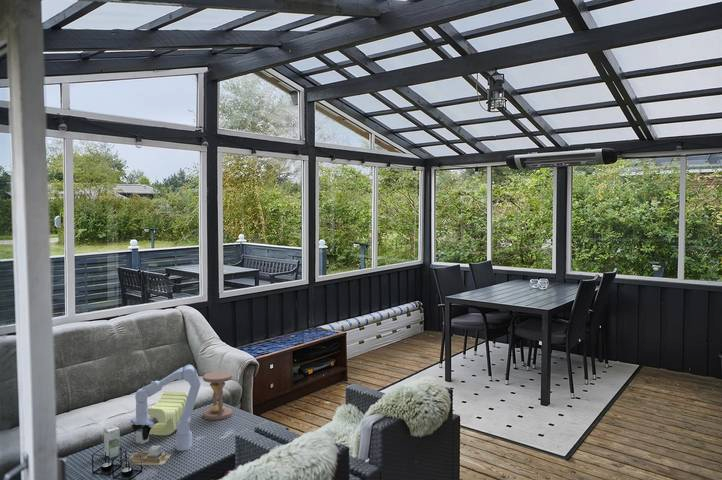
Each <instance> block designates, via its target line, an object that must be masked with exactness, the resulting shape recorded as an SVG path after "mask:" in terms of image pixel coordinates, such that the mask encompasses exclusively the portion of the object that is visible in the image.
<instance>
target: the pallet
mask: <svg viewBox="0 0 722 480" xmlns="http://www.w3.org/2000/svg"><path fill="white" fill-rule="evenodd" d="M172 455H173V453H167V452H166V451H161V456H160V457H159V458H149V451H135V453H133V454H132V455H131V456H130V457H128V459H130V465H129V466H131V465H132V466H133V465H134V466H137V465H140V466H163V465H164V464H165V463H166V462H167V461H168V459H170V457H171V456H172ZM140 456H141V458H140ZM141 462H142V463H141ZM125 464H126V460H125V461H124V462H123V463H122V465H125Z"/></svg>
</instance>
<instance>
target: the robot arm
mask: <svg viewBox="0 0 722 480" xmlns="http://www.w3.org/2000/svg"><path fill="white" fill-rule="evenodd" d="M176 380H179V381H182V380H185V381H186V383H188V384H189V386H190V388H189V389H188V393H187V394H188V397H187V400H186V403H185V407H184V410H183V413H182V415H181V418H180V419H179V420H178V422H177V429H176V432H175V441H176V442H175V443H176V445H175V447H176V448H175V449H176V451H179V452H184V451H188V450H190V449H191V447H192V445H193V433H192V431H191V430H190V424H191V417H192V414H193V410H194V407H195V405H196V400H197V397H198V394H199V390H200V388H201V380H200V377H199V375H198V371H197V368H195V366H194V365H192V364H186V365H185V366H183V367H180V368H178V369H177V370H175V371H173V372H172V373H170V374H169V375H167V376H166V377H164V378H162V379H161V380H152V381H150V383H149V384H147V385H145V386H142V387H141V388H138V389H137V390H136V393H135V396H134V397H135V417H133V418H130V424H132V425H131V428H132V430H133V431H134V434H135V435H136V430H139V429H142V431H143V438H144V440H147V439H148V436H149V435H150V434H149V432H150V430H151V428H152V427H153V426H154V425H155V423H154V422H153V421H151V420H149V414H148V409H149V408H148V407H149V403H148V398H150V397H152V396H154V395H155V394H157V393H159V392H160V391H162V389H163V387H164V386H166V385H169V384H171V383H172V382H175V381H176ZM149 437H150V436H149Z"/></svg>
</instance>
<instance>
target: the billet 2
mask: <svg viewBox="0 0 722 480" xmlns="http://www.w3.org/2000/svg"><path fill="white" fill-rule="evenodd" d="M147 450H148V452H149V458H159V457H160V456H161V452H162V445H151V446H150V447H149V448H148V449H147Z"/></svg>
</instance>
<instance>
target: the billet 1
mask: <svg viewBox="0 0 722 480" xmlns="http://www.w3.org/2000/svg"><path fill="white" fill-rule="evenodd" d="M149 441H150V436H148V439H147V440H144V438H143V431H142V429H139V430H136V434H135V443H137V444H141V445H142V444H144V443H147V442H149Z"/></svg>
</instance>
